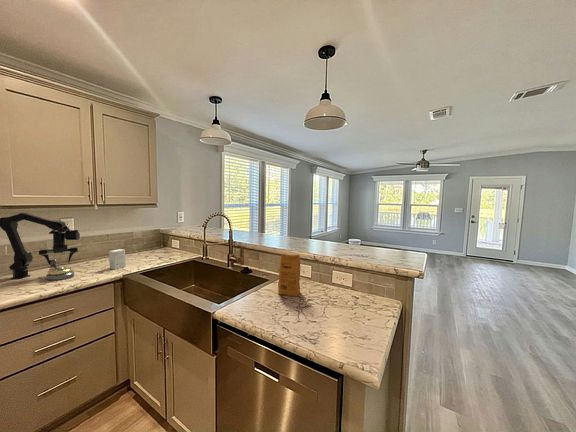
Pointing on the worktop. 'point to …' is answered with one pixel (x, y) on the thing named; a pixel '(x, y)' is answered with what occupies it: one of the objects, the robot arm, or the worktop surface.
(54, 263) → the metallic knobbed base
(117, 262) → the small box
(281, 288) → the coffee package
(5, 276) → the worktop surface
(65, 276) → the housing
